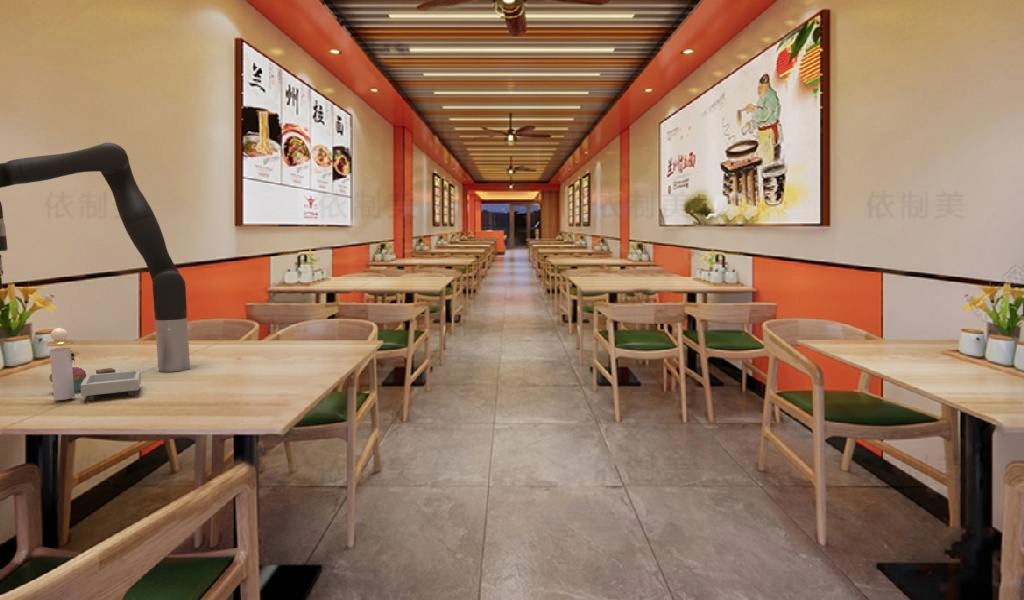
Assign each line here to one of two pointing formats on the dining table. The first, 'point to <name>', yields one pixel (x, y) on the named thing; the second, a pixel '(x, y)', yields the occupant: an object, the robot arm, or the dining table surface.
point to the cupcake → (76, 377)
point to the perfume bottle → (61, 365)
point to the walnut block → (105, 371)
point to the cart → (110, 383)
